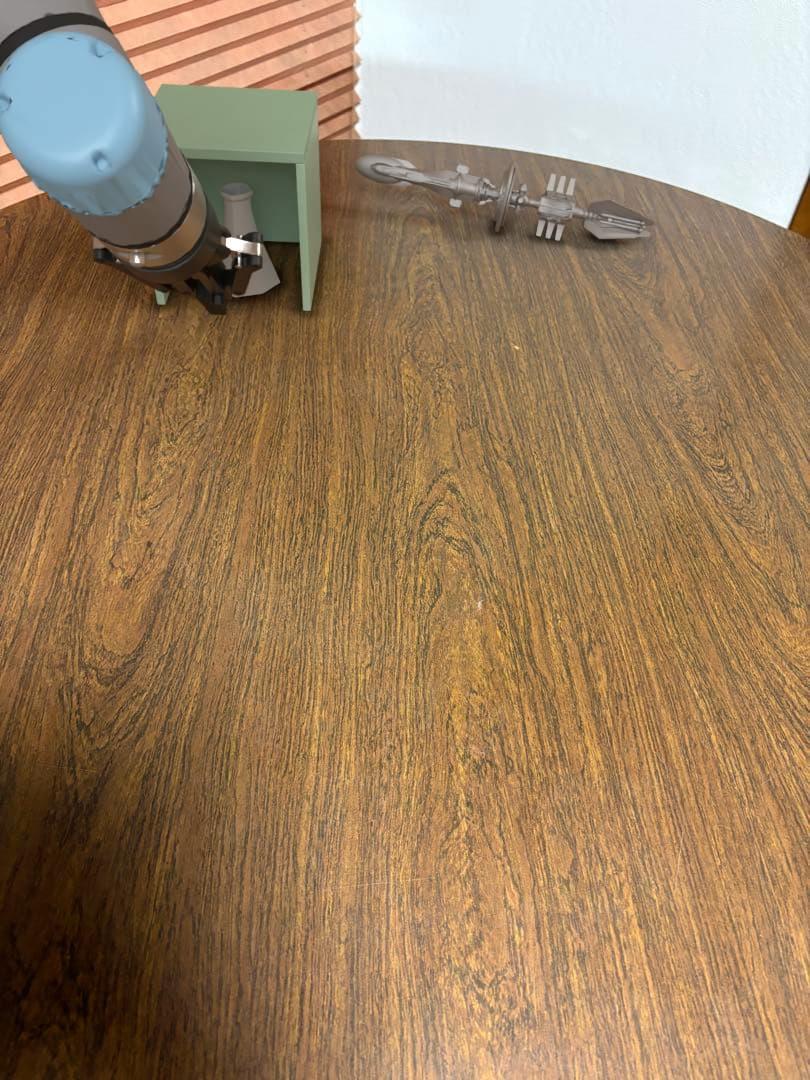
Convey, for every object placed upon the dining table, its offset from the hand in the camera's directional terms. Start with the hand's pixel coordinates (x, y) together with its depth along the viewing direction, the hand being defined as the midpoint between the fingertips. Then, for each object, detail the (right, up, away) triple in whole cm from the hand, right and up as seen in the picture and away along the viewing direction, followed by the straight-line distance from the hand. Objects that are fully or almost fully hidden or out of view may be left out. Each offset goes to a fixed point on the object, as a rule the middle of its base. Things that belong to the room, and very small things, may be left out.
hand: (219, 300), depth 80 cm
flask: (0, +5, +11) cm, 12 cm away
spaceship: (+29, +14, +22) cm, 39 cm away
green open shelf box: (0, +6, +12) cm, 14 cm away
